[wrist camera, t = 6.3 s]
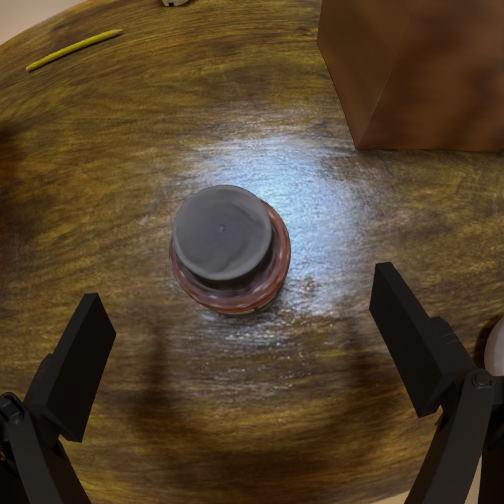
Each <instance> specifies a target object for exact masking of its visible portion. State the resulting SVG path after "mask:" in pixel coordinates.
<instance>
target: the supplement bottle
mask: <svg viewBox="0 0 504 504" xmlns="http://www.w3.org/2000/svg"><path fill="white" fill-rule="evenodd" d="M169 258H170V264H171V267H172V270H173V273H174V276H175V278H176V280H177V281H178V283H179V284H180V286H181V287H182V288H183V290H184V291H185V292H186V293H187V294H188V295H189V296H190V297H191V298H193V299H194V300H195V301H197V302H199V303H200V304H202V305H204V306H206V307H208V308H210V309H213V310H215V311H217V312H219V313H222V314H224V315H226V316H230V317H236V318H246V317H251V316H255V315H257V314H259V313H261V312H263V311H265V310H266V309H268V308H269V307H270V306H271V305H272V304H273V303H274V301H275V300H276V299H277V297H278V296H279V293H280V291H281V289H282V286H283V283H284V281H285V278H286V275H287V272H288V269H289V265H290V259H291V245H290V238H289V234H288V231H287V228H286V226H285V224H284V222H283V220H282V219H281V217H280V216H279V214H278V213H277V212H276V211H275V210H274V209H273V208H272V207H271V206H270V205H269V204H268V203H266V202H265V201H263V200H262V199H260V198H258V197H256V196H255V195H254V194H252V193H251V192H249V191H247V190H245V189H243V188H240V187H237V186H232V185H216V186H211V187H207V188H204V189H202V190H200V191H199V192H197V193H195V194H194V195H192V196H191V197H190V198H189V199H188V200H187V201H186V202H185V203H184V204H183V205H182V207H181V208H180V210H179V211H178V213H177V216H176V218H175V221H174V225H173V232H172V236H171V240H170V247H169Z"/></svg>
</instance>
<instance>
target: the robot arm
mask: <svg viewBox="0 0 504 504" xmlns="http://www.w3.org/2000/svg"><path fill="white" fill-rule="evenodd" d="M369 310H370V312H371V314H372V316H373V318H374V320H375V322H376V325H377V327H378V329H379V331H380V333H381V335H382V337H383V339H384V341H385V343H386V345H387V347H388V350H389V352H390V354H391V356H392V358H393V360H394V363H395V365H396V367H397V369H398V371H399V374H400V376H401V378H402V380H403V383H404V385H405V387H406V389H407V392H408V394H409V396H410V399H411V401H412V404H413V406H414V408H415V411H416V413H417V416H418V418H421V417H424V416H427V415H430V414H433V413H435V412H436V411H437V409H438V407H439V406H440V405H441V407H442V409H443V411H444V412H443V413H442V415H441V416H440V418H439V419H438V421H437V422H436V424H435V425H436V426H437V425H438V426H437V429H436V432H435V435H434V437H433V440H432V443H431V445H430V448H429V450H428V453H427V455H426V458H425V460H424V462H423V465H422V467H421V469H420V471H419V474H418V476H417V478H416V480H415V482H414V484H413V486H412V488H411V491H410V493H409V495H408V497H407V498H406V500H405V503H404V504H464V503H465V500H466V498H467V495H468V492H469V489H470V487H471V484H472V481H473V478H474V475H475V472H476V468H477V465H478V462H479V458H480V455H481V451H482V465H481V466H482V467H481V478H480V488H479V497H478V504H504V376H492V375H491V374H490V373H489V372H488V371H487V370H485V369H482V368H477V367H476V366H475V364H474V362H473V361H472V359H471V357H470V356H469V354H468V353H467V351H466V350H465V348H464V346H463V345H462V343H461V342H460V341H459V339H458V337H457V336H456V334H454V331H453V330H452V328H451V327H450V325H449V324H448V323H447V322H446V321H444V320H443V319H442V318H440V317H439V316H438V317H434V318H429V316H428V315H427V313H426V312H425V310H424V309H423V307H422V306H421V304H420V303H419V301H418V300H417V299H416V297H415V296H414V294H413V293H412V291H411V290H410V288H409V287H408V286H407V284H406V283H405V281H404V280H403V278H402V277H401V276H400V274H399V273H398V272H397V270H396V269H395V267H394V266H393V265H392V263H391V262H385V263H378V264H376V266H375V274H374V281H373V288H372V295H371V301H370V307H369ZM115 337H116V332H115V330H114V328H113V326H112V324H111V322H110V320H109V318H108V315H107V313H106V311H105V309H104V307H103V304H102V302H101V300H100V297H99V295H98V293H90V294H84V296H83V298H82V300H81V301H80V303H79V305H78V307H77V309H76V310H75V312H74V314H73V316H72V318H71V320H70V321H69V323H68V325H67V327H66V329H65V331H64V333H63V335H62V337H61V339H60V341H59V342H58V344H57V346H56V348H55V350H54V352H53V354H48V355H47V356H46V357H45V358H44V360H43V361H42V362H41V364H40V366H39V368H38V370H37V371H38V372H36V374H35V376H34V379H33V381H32V383H31V385H30V387H29V389H28V392H27V394H26V396H25V398H24V401H23V403H22V402H21V401H20V399H19V398H18V397H17V396H16V395H15V394H14V393H12V392H6V393H3V394H2V395H1V396H0V504H92V503H91V502H90V500H89V498H88V496H87V495H86V493H85V491H84V489H83V487H82V485H81V483H80V481H79V479H78V478H77V476H76V474H75V472H74V469H73V467H72V465H71V463H70V461H69V459H68V457H67V455H66V452H65V450H64V448H63V445H62V443H61V442H60V441H59V440H58V438H59V434H61V435H62V436H63V437H64V438H65V439H66V440H68V441H74V442H79V443H82V439H83V435H84V432H85V428H86V425H87V421H88V418H89V415H90V411H91V408H92V405H93V401H94V398H95V395H96V392H97V389H98V386H99V383H100V380H101V377H102V374H103V371H104V368H105V365H106V362H107V359H108V356H109V353H110V351H111V348H112V345H113V342H114V340H115ZM1 454H2V455H3V460H1Z"/></svg>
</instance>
